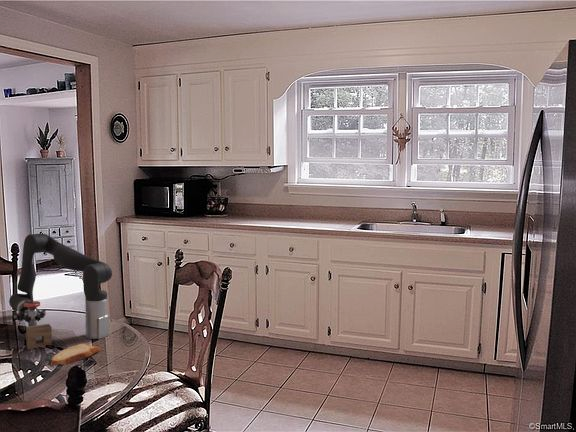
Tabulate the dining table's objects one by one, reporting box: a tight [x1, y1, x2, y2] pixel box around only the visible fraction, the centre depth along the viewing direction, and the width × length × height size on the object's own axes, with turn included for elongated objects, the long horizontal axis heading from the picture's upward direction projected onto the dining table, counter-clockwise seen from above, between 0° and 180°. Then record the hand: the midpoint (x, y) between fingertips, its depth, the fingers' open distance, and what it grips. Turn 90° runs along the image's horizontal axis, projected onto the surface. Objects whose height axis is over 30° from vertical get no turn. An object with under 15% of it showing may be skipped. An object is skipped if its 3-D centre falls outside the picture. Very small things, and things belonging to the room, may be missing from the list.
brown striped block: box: [25, 323, 53, 351], centre depth 219 cm, size 5×9×8 cm, turn 125°
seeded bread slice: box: [50, 343, 101, 365], centre depth 210 cm, size 18×18×4 cm
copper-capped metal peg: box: [24, 300, 41, 327], centre depth 228 cm, size 14×6×14 cm, turn 35°
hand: (33, 319), depth 229 cm, fingers closed on copper-capped metal peg, 3 cm apart
